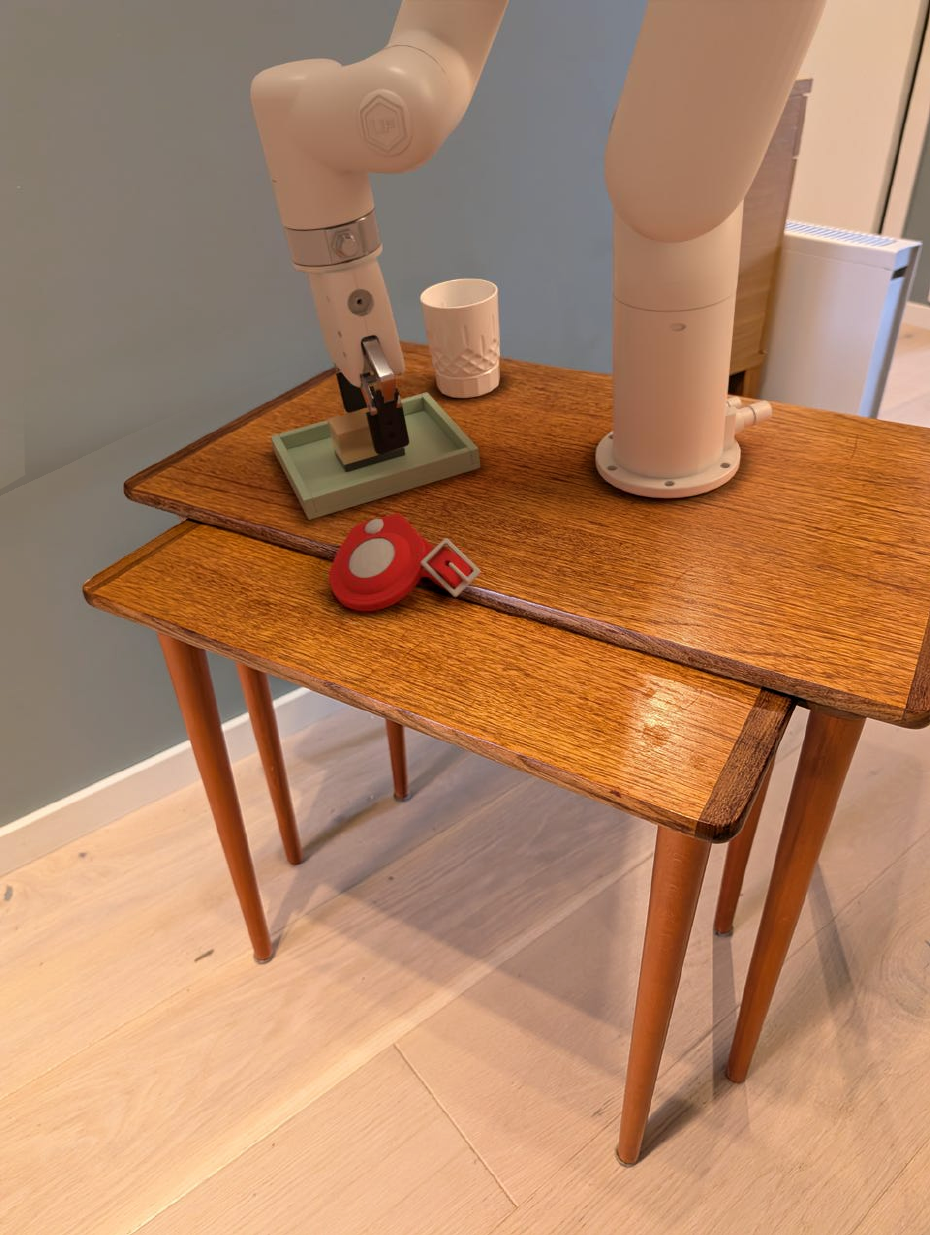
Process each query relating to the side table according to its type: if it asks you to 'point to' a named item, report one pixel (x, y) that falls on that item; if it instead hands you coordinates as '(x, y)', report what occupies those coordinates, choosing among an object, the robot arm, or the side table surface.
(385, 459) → the eraser
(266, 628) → the side table surface
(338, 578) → the tracker holder
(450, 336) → the white cup
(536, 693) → the side table surface
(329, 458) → the tray
